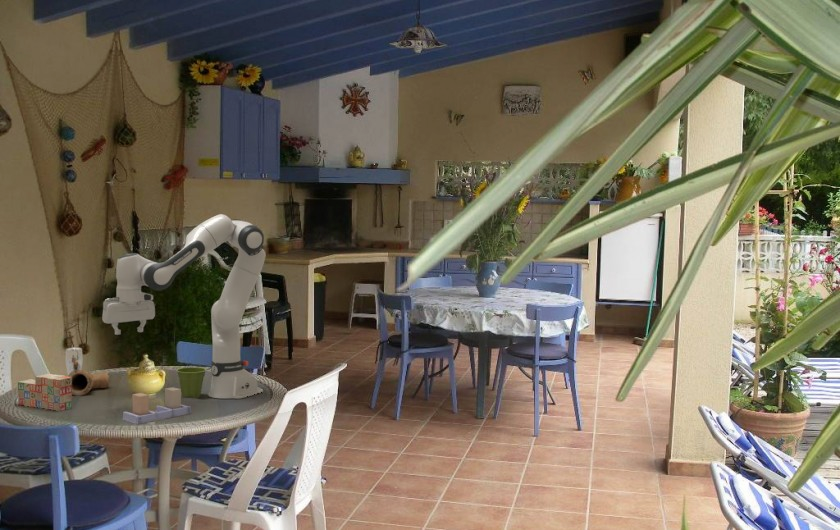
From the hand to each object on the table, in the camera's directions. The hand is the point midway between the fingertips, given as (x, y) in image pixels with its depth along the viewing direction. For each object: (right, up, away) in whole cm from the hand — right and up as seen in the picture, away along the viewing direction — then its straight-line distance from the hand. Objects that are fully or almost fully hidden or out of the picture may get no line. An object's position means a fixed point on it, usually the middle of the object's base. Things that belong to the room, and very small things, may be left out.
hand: (129, 333), depth 337 cm
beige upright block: (+18, -29, -7) cm, 35 cm away
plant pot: (+17, -28, +24) cm, 41 cm away
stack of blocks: (-34, -29, +5) cm, 44 cm away
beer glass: (-39, -25, +46) cm, 65 cm away
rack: (+14, -30, -12) cm, 35 cm away
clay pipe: (-27, -27, +31) cm, 49 cm away
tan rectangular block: (+10, -30, -17) cm, 35 cm away
